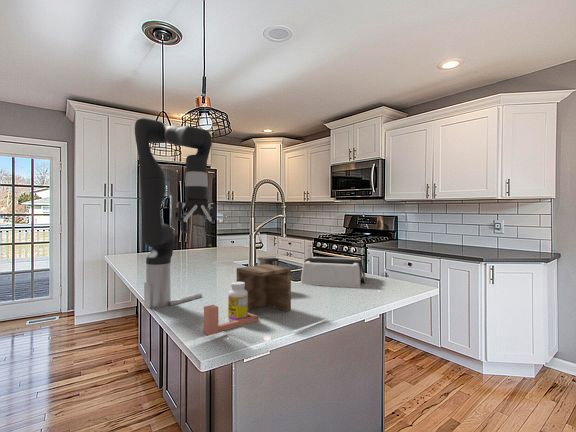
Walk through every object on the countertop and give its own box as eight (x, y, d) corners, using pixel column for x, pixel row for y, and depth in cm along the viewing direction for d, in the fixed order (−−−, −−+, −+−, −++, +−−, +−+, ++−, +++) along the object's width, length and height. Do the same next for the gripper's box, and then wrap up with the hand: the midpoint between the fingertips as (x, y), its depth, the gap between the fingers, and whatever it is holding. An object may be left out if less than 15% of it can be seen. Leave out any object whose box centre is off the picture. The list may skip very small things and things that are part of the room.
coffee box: (276, 290, 158) (276, 257, 158) (279, 293, 152) (279, 258, 152) (257, 291, 155) (257, 257, 155) (259, 294, 149) (259, 259, 149)
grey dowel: (168, 302, 132) (170, 306, 131) (171, 300, 131) (172, 305, 131) (198, 294, 145) (200, 297, 145) (201, 292, 145) (202, 296, 144)
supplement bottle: (224, 319, 113) (224, 282, 113) (241, 315, 117) (241, 280, 117) (233, 324, 108) (233, 285, 108) (251, 320, 112) (251, 283, 112)
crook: (209, 335, 98) (209, 308, 98) (195, 328, 104) (195, 303, 104) (260, 321, 112) (260, 297, 112) (245, 315, 118) (245, 293, 118)
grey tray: (367, 279, 187) (367, 257, 187) (364, 292, 156) (365, 266, 156) (307, 276, 197) (307, 255, 197) (293, 287, 165) (293, 263, 165)
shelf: (259, 319, 113) (259, 272, 113) (236, 310, 123) (236, 268, 123) (290, 311, 124) (290, 268, 123) (267, 303, 134) (267, 264, 134)
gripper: (181, 183, 105) (181, 234, 106) (220, 186, 115) (220, 232, 115) (171, 185, 111) (171, 233, 111) (209, 187, 121) (209, 231, 121)
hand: (196, 232), depth 113 cm, fingers open, 8 cm apart
